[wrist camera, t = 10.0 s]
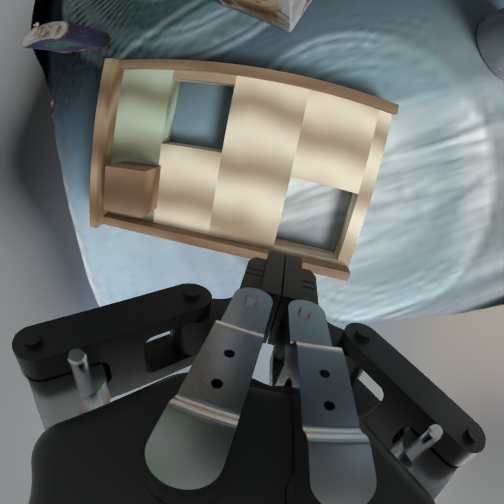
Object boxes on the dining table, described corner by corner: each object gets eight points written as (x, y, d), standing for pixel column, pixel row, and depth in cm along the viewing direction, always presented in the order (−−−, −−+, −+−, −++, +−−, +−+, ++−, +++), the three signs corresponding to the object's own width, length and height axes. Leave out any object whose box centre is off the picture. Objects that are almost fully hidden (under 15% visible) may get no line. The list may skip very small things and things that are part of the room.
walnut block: (123, 160, 31) (105, 165, 28) (161, 166, 31) (145, 171, 27) (121, 200, 33) (103, 210, 30) (156, 207, 33) (141, 218, 30)
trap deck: (129, 65, 29) (105, 58, 24) (386, 107, 28) (404, 104, 23) (112, 213, 37) (90, 226, 32) (342, 265, 36) (349, 287, 31)
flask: (61, 54, 28) (9, 48, 18) (65, 37, 27) (15, 27, 17) (108, 49, 28) (56, 34, 18) (114, 29, 27) (63, 10, 17)
